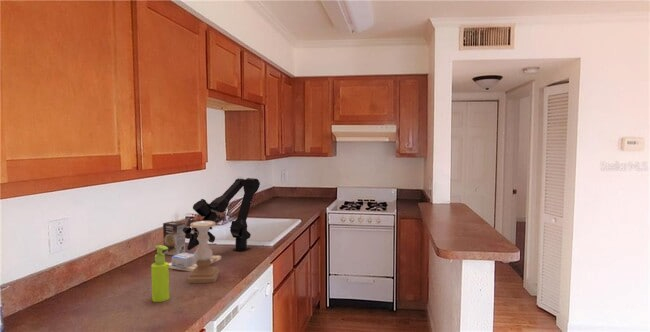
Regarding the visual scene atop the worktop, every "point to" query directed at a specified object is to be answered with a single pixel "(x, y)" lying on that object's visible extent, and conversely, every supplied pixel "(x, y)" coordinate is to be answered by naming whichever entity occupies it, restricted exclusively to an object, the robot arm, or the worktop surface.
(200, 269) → the candle holder
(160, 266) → the soap dispenser
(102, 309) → the worktop surface
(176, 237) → the coffee box
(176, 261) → the medicine box
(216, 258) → the pocket board
